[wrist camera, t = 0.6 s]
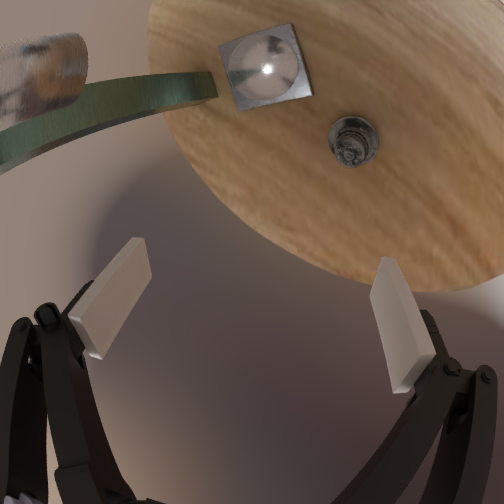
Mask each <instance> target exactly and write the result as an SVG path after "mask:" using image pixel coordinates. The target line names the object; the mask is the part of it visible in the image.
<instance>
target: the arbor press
mask: <svg viewBox="0 0 504 504" xmlns="http://www.w3.org/2000/svg"><path fill="white" fill-rule="evenodd" d="M218 47H219V50H220V54H221V57H222V60H223V63H224V67H225V70H226V73H227V76H228V80H229V83H230V86H231V90H232V93H233V96H234V100H235V103H236V106H237V110H238V112H240V111H245V110H248V109H252V108H256V107H260V106H264V105H268V104H273V103H277V102H282V101H286V100H291V99H296V98H301V97H307V96H312V95H314V93H313V89H312V86H311V82H310V78H309V75H308V71H307V68H306V64H305V61H304V57H303V54H302V51H301V48H300V45H299V41H298V38H297V35H296V32H295V29H294V26H293V25H292V24H291V23H287V24H284V25H280V26H276V27H273V28H269V29H266V30H263V31H259V32H256V33H253V34H250V35H247V36H244V37H241V38H239V39H236V40H233V41H230V42H228V43H225V44H223V45H220V46H218ZM87 70H88V53H87V47H86V44H85V42H84V40H83V38H82V37H81V36H80V35H79V34H78V33H75V32H71V33H60V34H52V35H45V36H39V37H33V38H28V39H22V40H18V41H14V42H9V43H5V44H1V45H0V175H2V174H3V173H5V172H7V171H9V170H11V169H12V168H15V167H16V166H18V165H20V164H22V163H24V162H26V161H28V160H30V159H32V158H34V157H37V156H39V155H41V154H43V153H45V152H47V151H50V150H52V149H54V148H56V147H59V146H61V145H64V144H66V143H68V142H71V141H73V140H76V139H79V138H81V137H84V136H87V135H89V134H92V133H95V132H98V131H101V130H103V129H106V128H109V127H112V126H116V125H118V124H122V123H125V122H129V121H132V120H136V119H139V118H143V117H146V116H150V115H154V114H158V113H162V112H166V111H171V110H175V109H180V108H184V107H189V106H194V105H198V104H200V103H203V102H206V101H209V100H212V99H214V98H217V97H218V94H217V91H216V87H215V84H214V81H213V77H212V74H211V72H191V73H168V74H154V75H143V76H135V77H127V78H119V79H113V80H107V81H101V82H95V83H90V84H85V81H86V77H87Z"/></svg>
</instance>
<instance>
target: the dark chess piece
mask: <svg viewBox="0 0 504 504" xmlns="http://www.w3.org/2000/svg"><path fill="white" fill-rule="evenodd" d="M328 141H329V146H330V149H331V151H332V153H333V154H334V155H335V156H336V158H337V160H338V162H339V163H340V164H341V165H343V166H345V167H347V168H355V167H358V166H359V165H363V164H366V163H368V162H369V161H371V160H372V159H373V158H374V156H375V155H376V153H377V151H378V147H379V139H378V135H377V132H376V130H375V128H374V127H373V126H372V125H371V124H370V123H369V122H368V121H366V120H365V119H363V118H361V117H357V116H347V117H344V118H341V119H339V120H338V121H337V122H335V123H334V124H333V126H332V127H331V129H330V132H329V139H328Z"/></svg>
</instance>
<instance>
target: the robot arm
mask: <svg viewBox="0 0 504 504" xmlns="http://www.w3.org/2000/svg"><path fill="white" fill-rule="evenodd" d="M151 278H152V275H151V270H150V265H149V261H148V256H147V251H146V246H145V242H144V238H139V237H132V238H131V239H130V241H129V242H128V243H127V244H126V245H125V246H124V247H123V248H122V249H121V251H120V252H119V253H118V254H117V255H116V256H115V257H114V259H113V260H112V261H111V262H110V263H109V264H108V265H107V266H106V268H105V269H104V270H103V271H102V273H101V274H100V275H99V276H98V277H97V278H96V280H95V281H94V280H91V281H90V282H88V283H87V284H85V285H84V286H83V287H82V289H81V290H80V291H79V293H77V294H76V296H75V298H74V299H72V301H71V302H70V303H69V305H68V306H67V307H66V308H65V310H64V311H63V312H62V313H61V314H60V312H59V310H58V308H57V306H56V305H55V304H54V303H50V302H49V303H45V304H43V305H41V306H39V307H38V308H37V310H36V311H35V312H34V318H35V320H36V321H37V323H38V325H33V323H32V322H31V320H30V319H29V318H28V317H23V318H20V319H18V320H17V321H16V322H15V323H14V324H13V326H12V328H11V331H10V334H9V337H8V340H7V344H6V347H5V351H4V354H3V357H2V361H1V365H0V504H48V476H47V454H46V433H47V414H48V419H49V425H50V430H51V435H52V440H53V444H54V448H55V453H56V457H57V461H58V465H59V467H58V469H56V470H55V473H54V476H55V481H56V484H57V487H58V490H59V493H60V496H61V499H62V502H63V504H165V503H161V502H158V501H155V500H152V499H149V498H147V499H146V500H137V499H136V497H135V495H134V493H133V491H132V490H131V488H130V487H129V485H128V484H127V483H126V482H125V480H124V479H123V477H122V475H121V473H120V471H119V468H118V466H117V464H116V462H115V459H114V456H113V454H112V451H111V448H110V446H109V443H108V440H107V437H106V435H105V432H104V429H103V426H102V423H101V419H100V417H99V413H98V410H97V406H96V403H95V399H94V395H93V392H92V388H91V384H90V380H89V375H88V371H87V366H86V362H85V357H84V355H83V351H84V350H85V348H86V350H87V351H88V353H89V355H90V356H93V357H96V358H99V359H103V357H104V356H105V354H106V352H107V350H108V348H109V346H110V345H111V343H112V341H113V340H114V338H115V336H116V334H117V333H118V331H119V329H120V327H121V326H122V324H123V323H124V321H125V319H126V318H127V316H128V314H129V313H130V311H131V309H132V308H133V306H134V305H135V303H136V301H137V300H138V298H139V297H140V295H141V293H142V292H143V290H144V289H145V287H146V285H147V284H148V283H149V281H150V279H151ZM369 297H370V300H371V303H372V307H373V310H374V314H375V318H376V321H377V325H378V329H379V332H380V337H381V341H382V344H383V349H384V353H385V357H386V362H387V366H388V371H389V375H390V380H391V385H392V390H393V393H404V392H408V391H409V390H410V389H411V388H412V386H413V385H414V388H415V393H414V394H413V396H412V397H411V398H410V399H409V400H408V401H407V402H406V405H407V406H406V407H405V409H404V410H403V412H402V414H401V415H400V417H399V418H398V420H397V422H396V423H395V425H394V426H393V427H392V429H391V430H390V432H389V433H388V435H387V436H386V438H385V439H384V440H383V442H382V443H381V445H380V446H379V447H378V449H377V450H376V451H375V453H374V454H373V455H372V457H371V458H370V459H369V461H368V462H367V463H366V464H365V465H364V467H363V468H362V469H361V470H360V471H359V473H358V474H357V475H356V476H355V477H354V479H353V480H352V481H351V482H350V483H349V484H348V485H347V486H346V488H345V489H344V490H343V491H342V492H341V493H340V494H339V495H338V496H337V497H336V498H335V499H334V500H333V501H332V502H331V503H330V504H395V502H396V501H397V500H398V498H399V497H400V496H401V494H402V493H403V491H404V490H405V488H406V487H407V486H408V484H409V482H410V481H411V480H412V478H413V476H414V475H415V473H416V472H417V470H418V468H419V467H420V465H421V463H422V462H423V460H424V458H425V457H426V455H427V453H428V451H429V449H430V447H431V446H432V444H433V442H434V440H435V438H436V436H437V434H438V432H439V430H440V428H441V426H442V424H443V428H442V432H441V436H440V440H439V444H438V448H437V452H436V455H435V459H434V462H433V466H432V469H431V472H430V475H429V478H428V481H427V484H426V486H425V489H424V492H423V495H422V497H421V500H420V502H419V504H481V502H482V499H483V495H484V491H485V488H486V483H487V479H488V474H489V469H490V464H491V459H492V453H493V446H494V438H495V427H496V416H497V375H496V373H495V371H494V370H493V369H492V368H491V367H489V366H488V365H481V366H479V368H478V369H477V370H476V371H470V370H465V369H462V367H461V365H460V363H459V362H458V361H457V360H456V359H454V358H451V357H449V355H448V352H447V350H446V347H445V345H444V342H443V340H442V337H441V335H440V334H439V330H438V328H437V327H436V323H435V321H434V319H433V317H432V316H431V315H430V314H429V312H428V311H427V310H419V309H418V306H417V304H416V302H415V300H414V297H413V295H412V293H411V291H410V289H409V287H408V284H407V282H406V280H405V278H404V276H403V274H402V272H401V270H400V268H399V266H398V264H397V262H396V260H395V258H394V257H384V256H382V257H381V260H380V264H379V267H378V270H377V274H376V277H375V280H374V283H373V286H372V290H371V292H370V295H369ZM28 358H30V362H29V363H28ZM443 422H444V423H443Z"/></svg>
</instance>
